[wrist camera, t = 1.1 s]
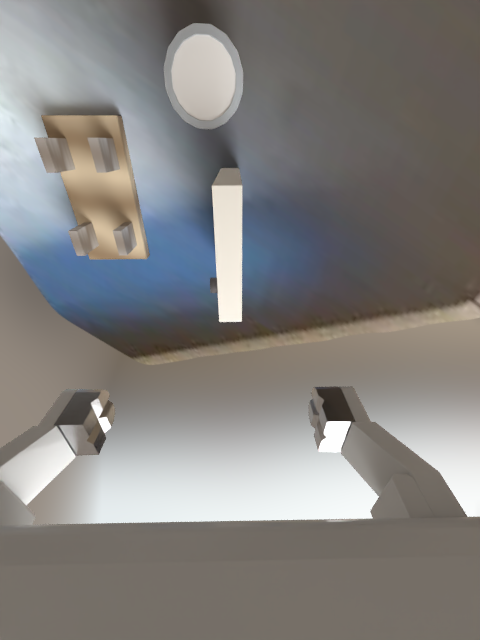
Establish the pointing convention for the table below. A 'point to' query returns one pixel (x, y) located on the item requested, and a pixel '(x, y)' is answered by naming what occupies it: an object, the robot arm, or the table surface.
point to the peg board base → (96, 184)
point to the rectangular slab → (228, 243)
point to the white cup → (203, 76)
